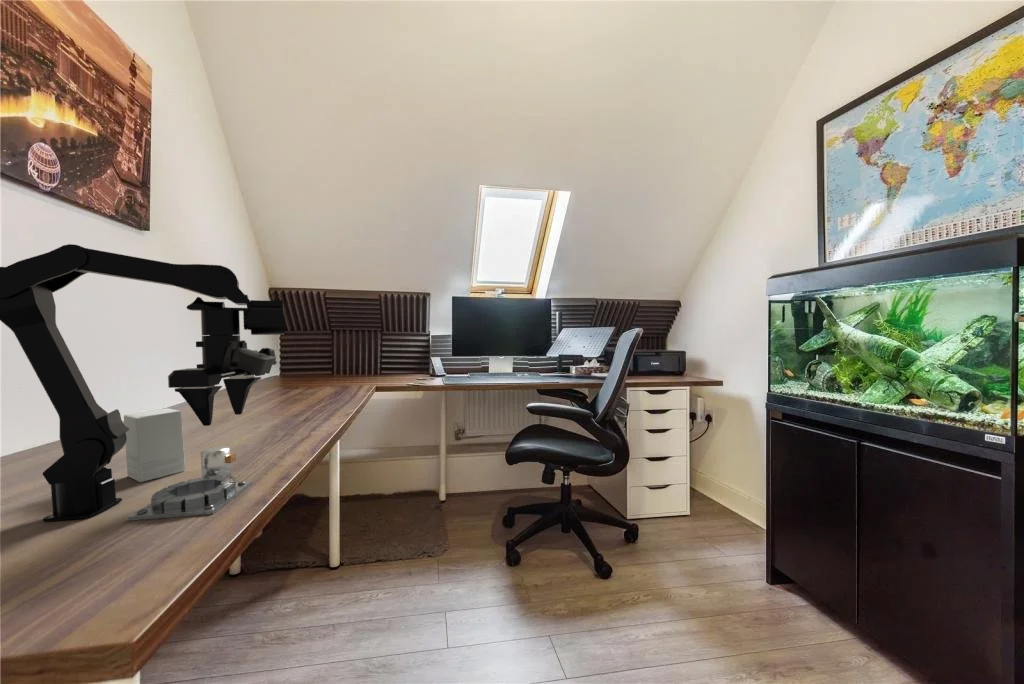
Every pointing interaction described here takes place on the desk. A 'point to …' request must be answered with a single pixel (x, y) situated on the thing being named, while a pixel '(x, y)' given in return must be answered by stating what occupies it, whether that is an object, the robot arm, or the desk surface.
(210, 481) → the duct flange
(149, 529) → the desk surface
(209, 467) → the silver metal cylinder
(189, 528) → the desk surface
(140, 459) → the supplement box
